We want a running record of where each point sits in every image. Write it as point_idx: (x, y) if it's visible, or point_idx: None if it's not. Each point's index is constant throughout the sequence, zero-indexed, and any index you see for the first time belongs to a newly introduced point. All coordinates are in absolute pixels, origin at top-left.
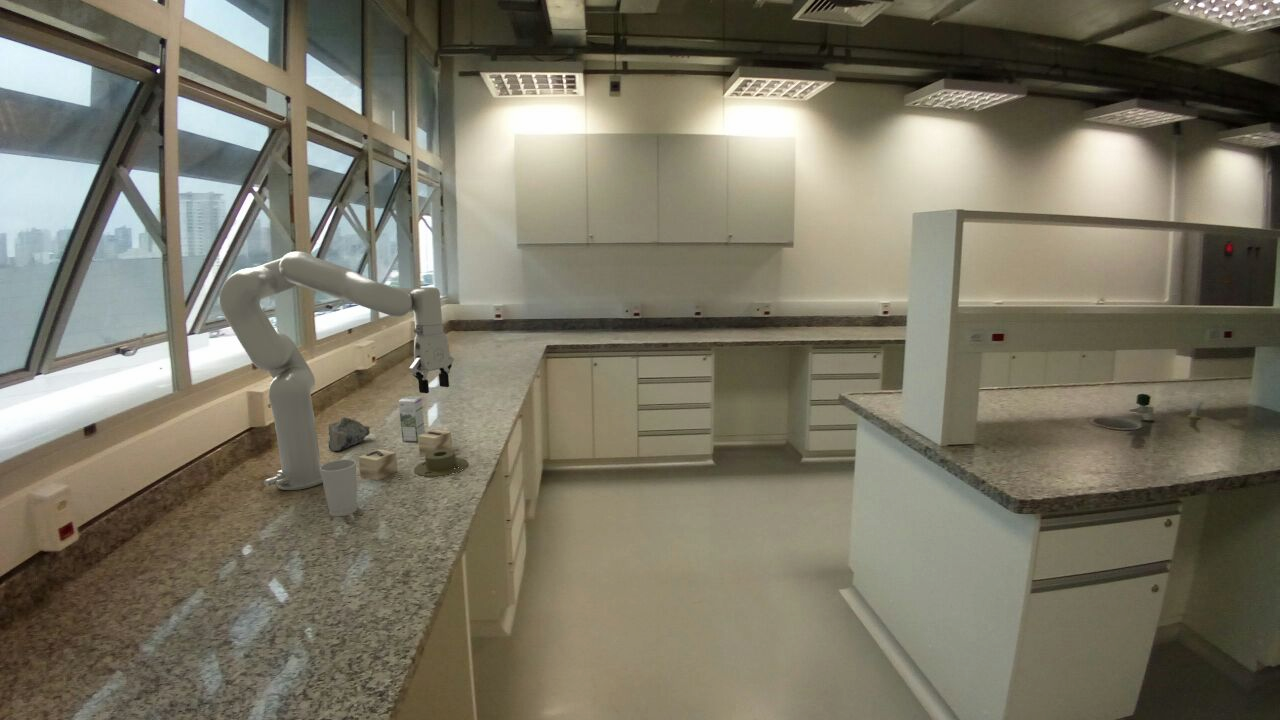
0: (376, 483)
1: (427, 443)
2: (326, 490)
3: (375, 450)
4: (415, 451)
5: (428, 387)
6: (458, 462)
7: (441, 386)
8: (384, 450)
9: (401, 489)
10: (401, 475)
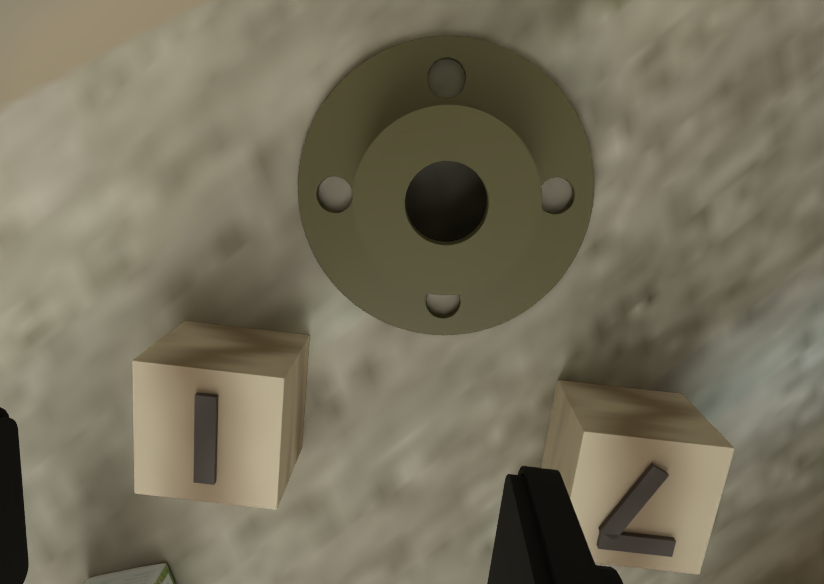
0: (721, 371)
1: (290, 419)
2: None
3: None
4: None
5: (526, 536)
6: (366, 130)
7: (20, 547)
8: None
9: (773, 193)
10: (600, 325)
